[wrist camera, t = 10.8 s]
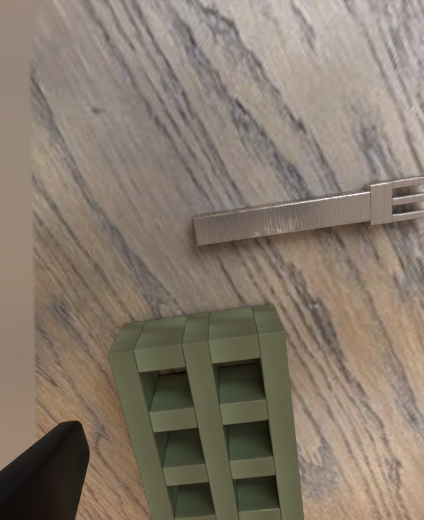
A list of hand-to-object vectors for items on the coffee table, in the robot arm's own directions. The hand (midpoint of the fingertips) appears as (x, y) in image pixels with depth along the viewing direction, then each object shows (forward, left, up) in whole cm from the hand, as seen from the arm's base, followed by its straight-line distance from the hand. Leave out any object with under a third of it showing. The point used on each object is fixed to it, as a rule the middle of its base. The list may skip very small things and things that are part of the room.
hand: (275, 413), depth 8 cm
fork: (-2, +2, -12) cm, 13 cm away
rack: (-3, -10, -13) cm, 17 cm away
